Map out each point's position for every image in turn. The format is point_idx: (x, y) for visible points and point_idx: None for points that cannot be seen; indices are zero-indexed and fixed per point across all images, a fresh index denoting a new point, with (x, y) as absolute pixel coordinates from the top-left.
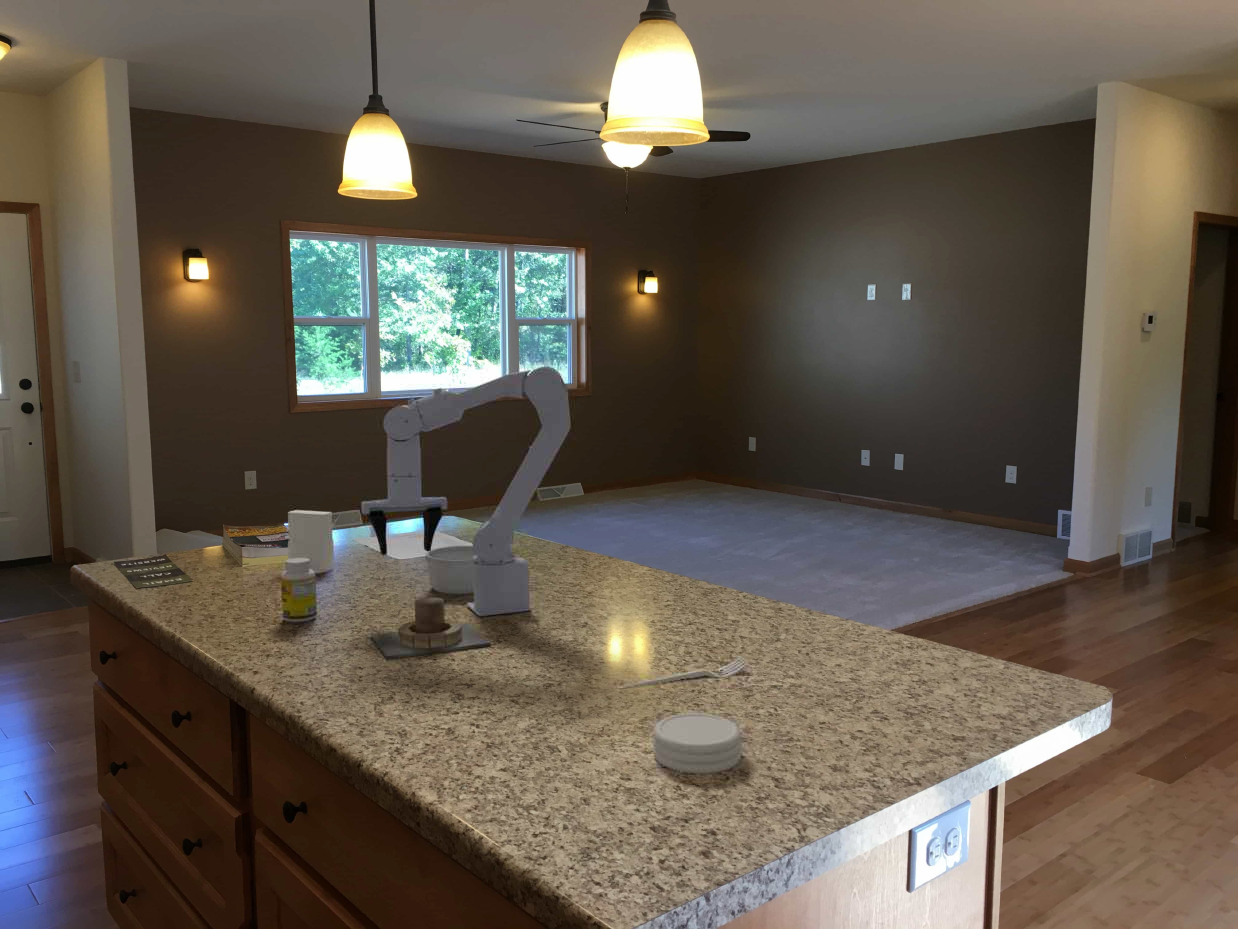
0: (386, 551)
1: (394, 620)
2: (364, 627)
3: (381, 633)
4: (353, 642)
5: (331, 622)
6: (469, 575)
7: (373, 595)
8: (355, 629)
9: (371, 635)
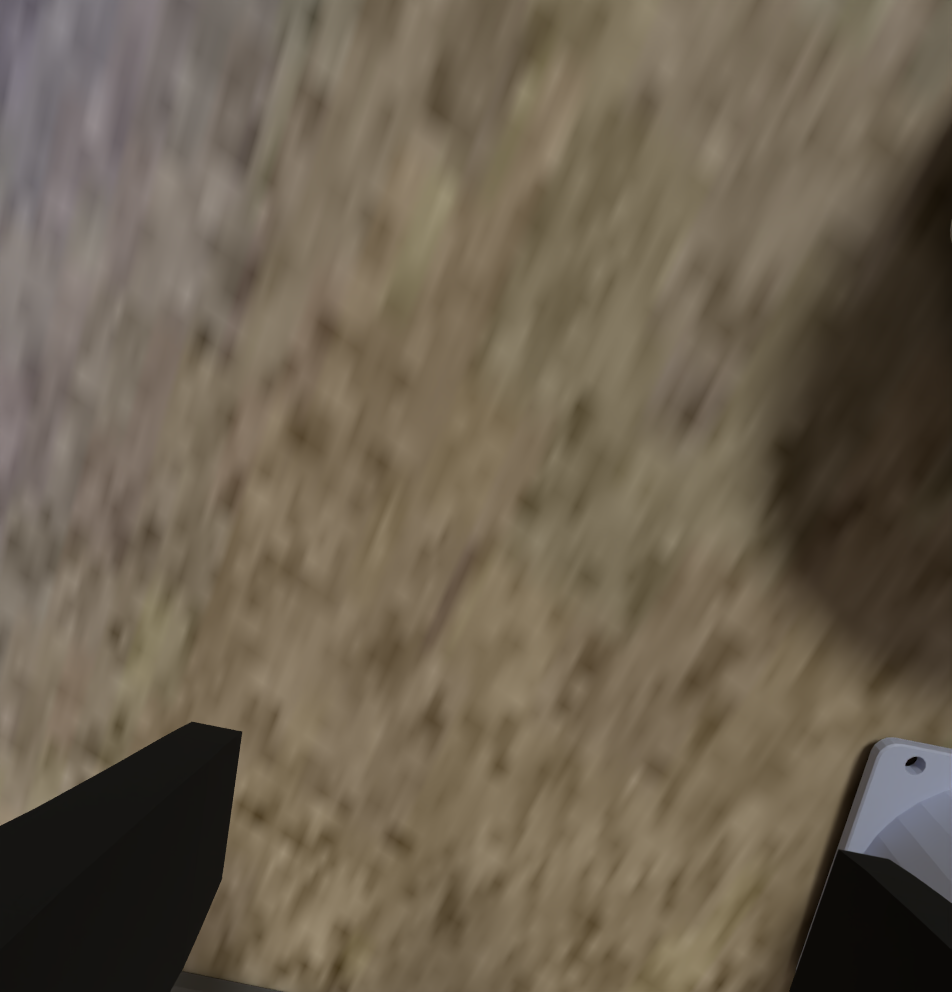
0: (194, 927)
1: (352, 746)
2: None
3: (173, 989)
4: None
5: (9, 568)
6: None
7: (479, 20)
8: None
9: None
